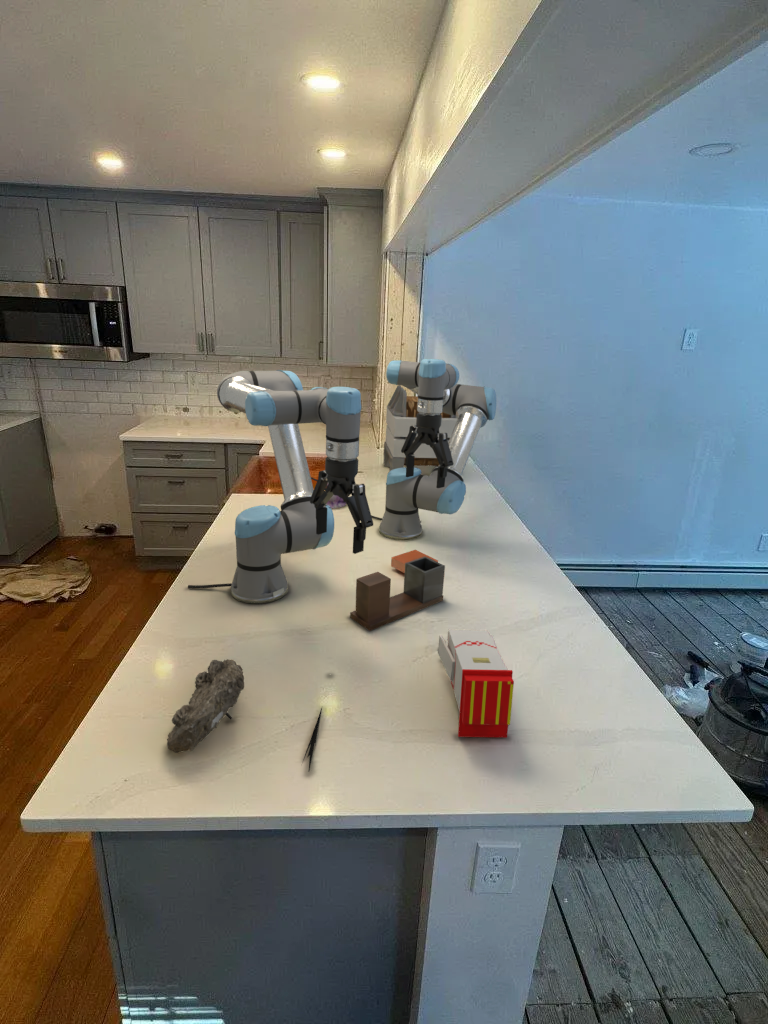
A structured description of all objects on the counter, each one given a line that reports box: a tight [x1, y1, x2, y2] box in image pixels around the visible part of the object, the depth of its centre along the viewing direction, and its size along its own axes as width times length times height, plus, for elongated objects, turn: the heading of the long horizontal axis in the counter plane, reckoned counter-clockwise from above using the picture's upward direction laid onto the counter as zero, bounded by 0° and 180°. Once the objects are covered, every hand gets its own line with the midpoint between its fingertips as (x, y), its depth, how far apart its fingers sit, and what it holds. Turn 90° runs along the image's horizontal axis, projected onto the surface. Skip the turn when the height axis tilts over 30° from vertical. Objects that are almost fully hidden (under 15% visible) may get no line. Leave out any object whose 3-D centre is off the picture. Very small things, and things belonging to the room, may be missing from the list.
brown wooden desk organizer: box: [349, 556, 446, 632], centre depth 148 cm, size 8×26×12 cm, turn 131°
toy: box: [437, 628, 515, 738], centre depth 117 cm, size 12×13×30 cm
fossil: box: [166, 658, 245, 754], centre depth 106 cm, size 22×10×15 cm
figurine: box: [326, 483, 347, 509], centre depth 223 cm, size 9×10×15 cm
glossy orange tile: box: [390, 549, 439, 574], centre depth 171 cm, size 10×10×4 cm
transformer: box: [383, 385, 458, 472], centre depth 268 cm, size 34×33×41 cm
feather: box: [301, 673, 332, 771], centre depth 108 cm, size 2×28×2 cm
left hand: (339, 542), depth 136 cm, fingers open, 13 cm apart
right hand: (424, 481), depth 175 cm, fingers open, 13 cm apart
